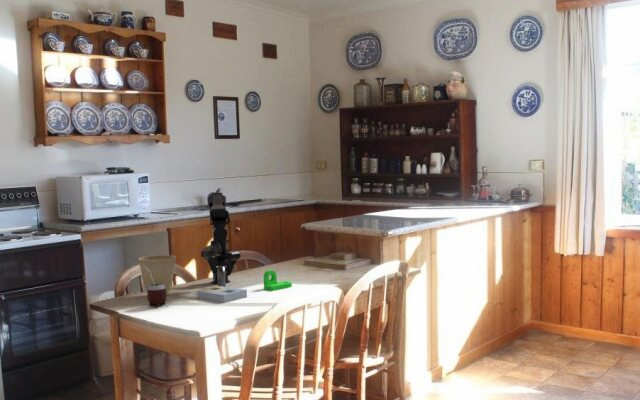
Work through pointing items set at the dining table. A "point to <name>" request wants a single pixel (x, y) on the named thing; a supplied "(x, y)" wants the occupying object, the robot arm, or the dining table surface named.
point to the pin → (221, 276)
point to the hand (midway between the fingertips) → (221, 274)
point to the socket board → (222, 294)
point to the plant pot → (158, 270)
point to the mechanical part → (274, 282)
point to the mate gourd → (156, 293)
